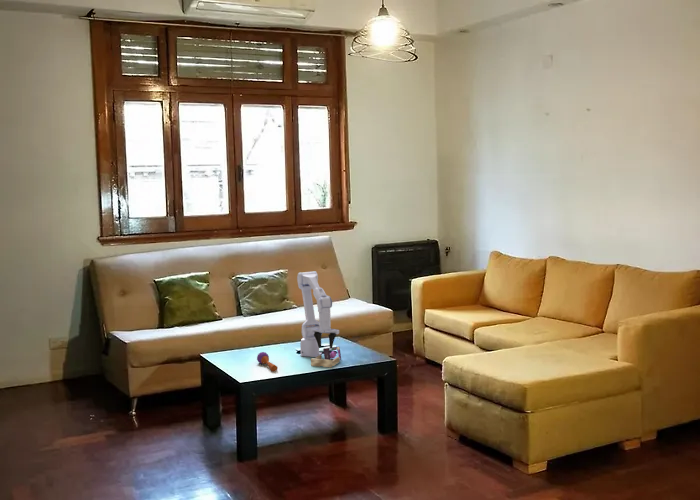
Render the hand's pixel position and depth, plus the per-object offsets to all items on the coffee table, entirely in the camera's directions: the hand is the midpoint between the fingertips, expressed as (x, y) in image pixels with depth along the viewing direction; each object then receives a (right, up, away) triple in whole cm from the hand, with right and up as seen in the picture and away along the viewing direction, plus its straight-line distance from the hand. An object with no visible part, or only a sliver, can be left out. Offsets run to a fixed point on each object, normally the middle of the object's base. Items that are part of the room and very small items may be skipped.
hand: (325, 347), depth 385 cm
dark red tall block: (+3, -8, +9) cm, 12 cm away
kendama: (-29, -10, -3) cm, 31 cm away
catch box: (0, -8, +1) cm, 8 cm away
